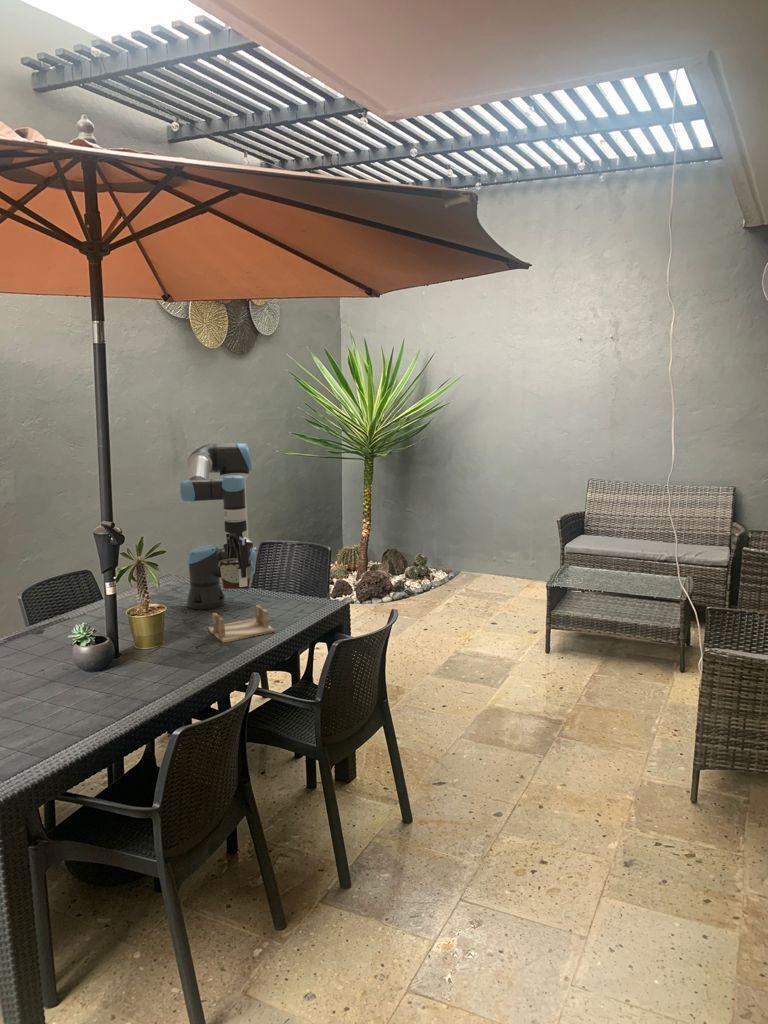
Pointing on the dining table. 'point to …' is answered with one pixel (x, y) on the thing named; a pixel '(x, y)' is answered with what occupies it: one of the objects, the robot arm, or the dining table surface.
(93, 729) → the dining table surface
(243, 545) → the robot arm
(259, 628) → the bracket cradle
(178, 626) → the dining table surface
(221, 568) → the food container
